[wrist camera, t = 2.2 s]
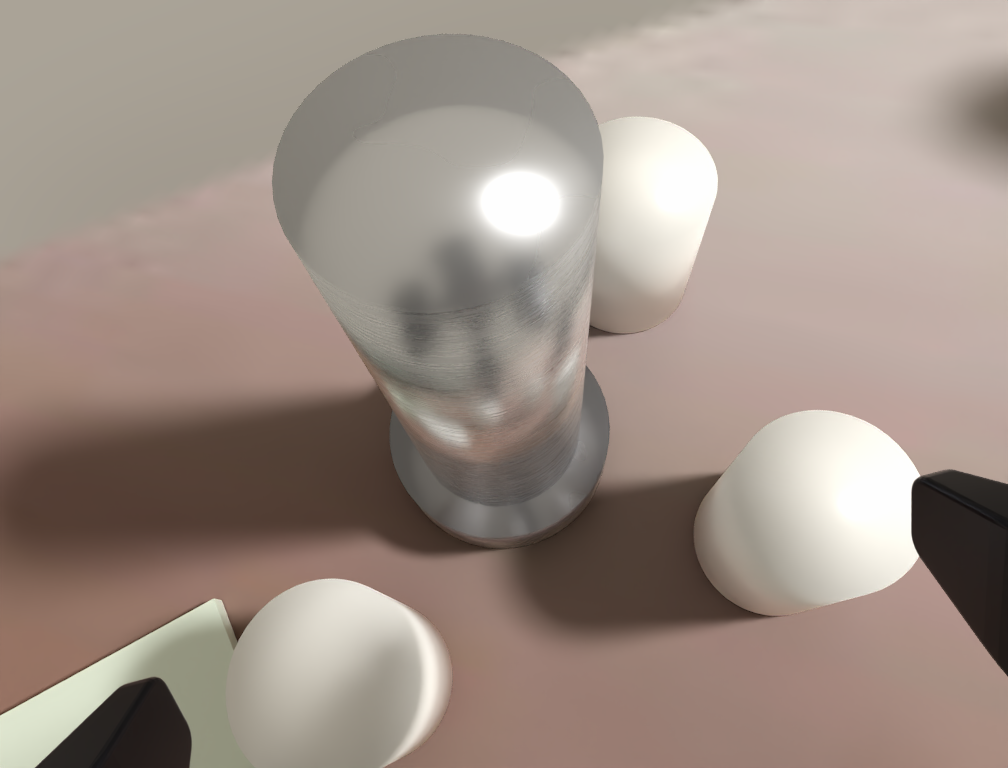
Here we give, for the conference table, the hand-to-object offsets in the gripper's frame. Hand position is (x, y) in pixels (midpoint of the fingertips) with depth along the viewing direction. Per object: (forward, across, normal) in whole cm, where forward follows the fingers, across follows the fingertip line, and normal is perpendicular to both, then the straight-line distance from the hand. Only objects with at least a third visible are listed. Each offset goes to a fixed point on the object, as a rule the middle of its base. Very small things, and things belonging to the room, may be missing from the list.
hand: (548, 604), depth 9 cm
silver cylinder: (+12, 0, +4) cm, 13 cm away
